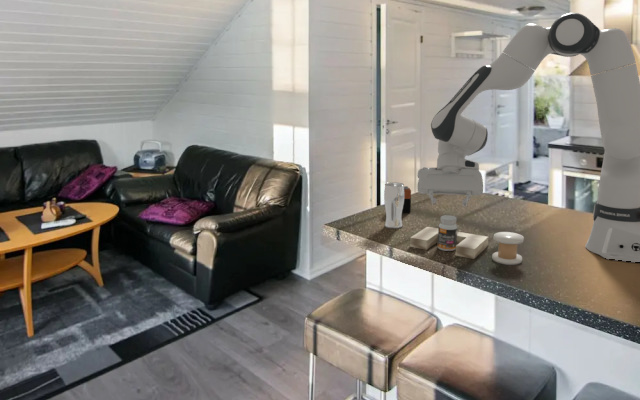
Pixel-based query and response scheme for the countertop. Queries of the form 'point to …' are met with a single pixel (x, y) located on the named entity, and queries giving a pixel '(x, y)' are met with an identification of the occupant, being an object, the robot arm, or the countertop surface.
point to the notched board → (465, 245)
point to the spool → (507, 248)
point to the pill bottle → (447, 233)
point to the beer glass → (394, 204)
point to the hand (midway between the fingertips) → (449, 204)
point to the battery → (407, 200)
